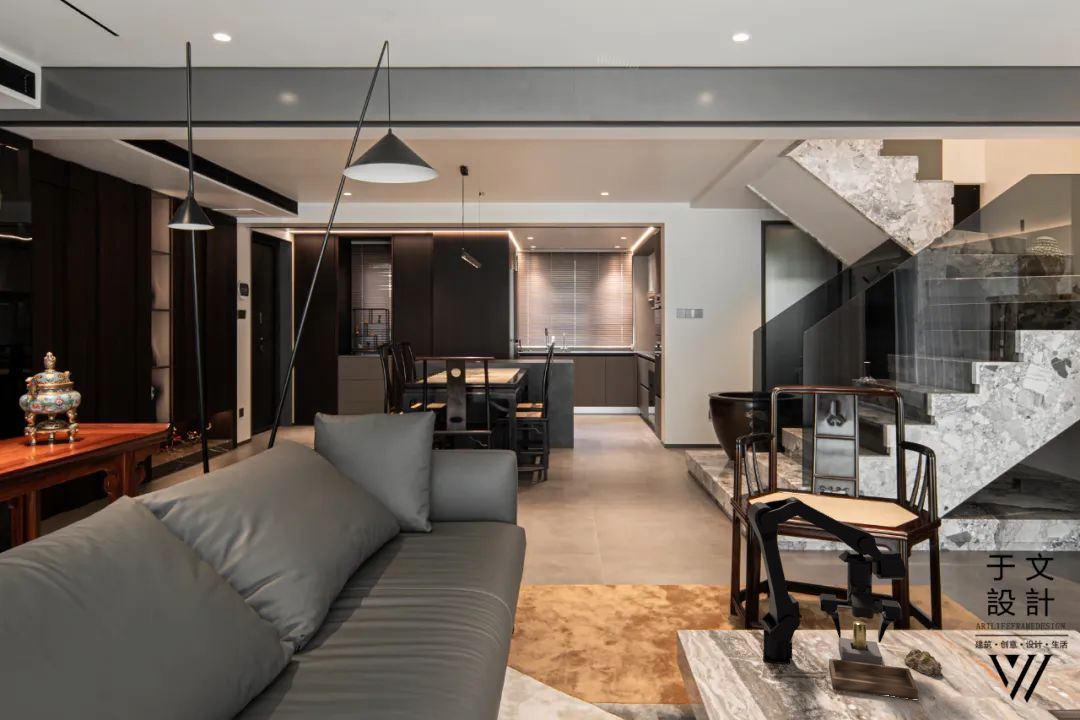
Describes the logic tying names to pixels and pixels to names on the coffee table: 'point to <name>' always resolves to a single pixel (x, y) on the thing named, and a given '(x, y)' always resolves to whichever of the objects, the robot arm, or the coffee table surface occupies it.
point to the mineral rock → (923, 662)
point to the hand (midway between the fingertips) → (859, 639)
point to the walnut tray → (872, 679)
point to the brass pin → (859, 635)
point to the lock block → (860, 652)
